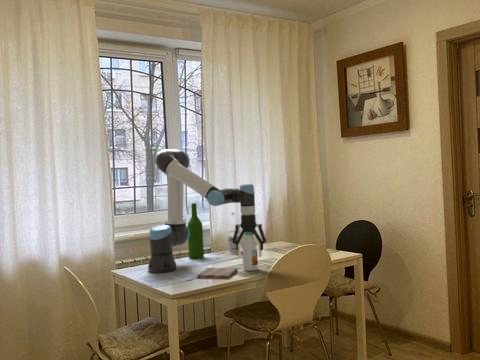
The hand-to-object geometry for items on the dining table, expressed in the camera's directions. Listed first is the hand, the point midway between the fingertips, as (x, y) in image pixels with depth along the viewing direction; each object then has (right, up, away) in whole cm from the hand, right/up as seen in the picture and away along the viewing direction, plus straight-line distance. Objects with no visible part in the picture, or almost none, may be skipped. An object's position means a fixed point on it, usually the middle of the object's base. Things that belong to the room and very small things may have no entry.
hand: (250, 256), depth 253 cm
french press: (-8, -6, +50) cm, 51 cm away
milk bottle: (0, -7, 0) cm, 7 cm away
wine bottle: (-31, -7, +39) cm, 51 cm away
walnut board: (-16, -8, -8) cm, 20 cm away
